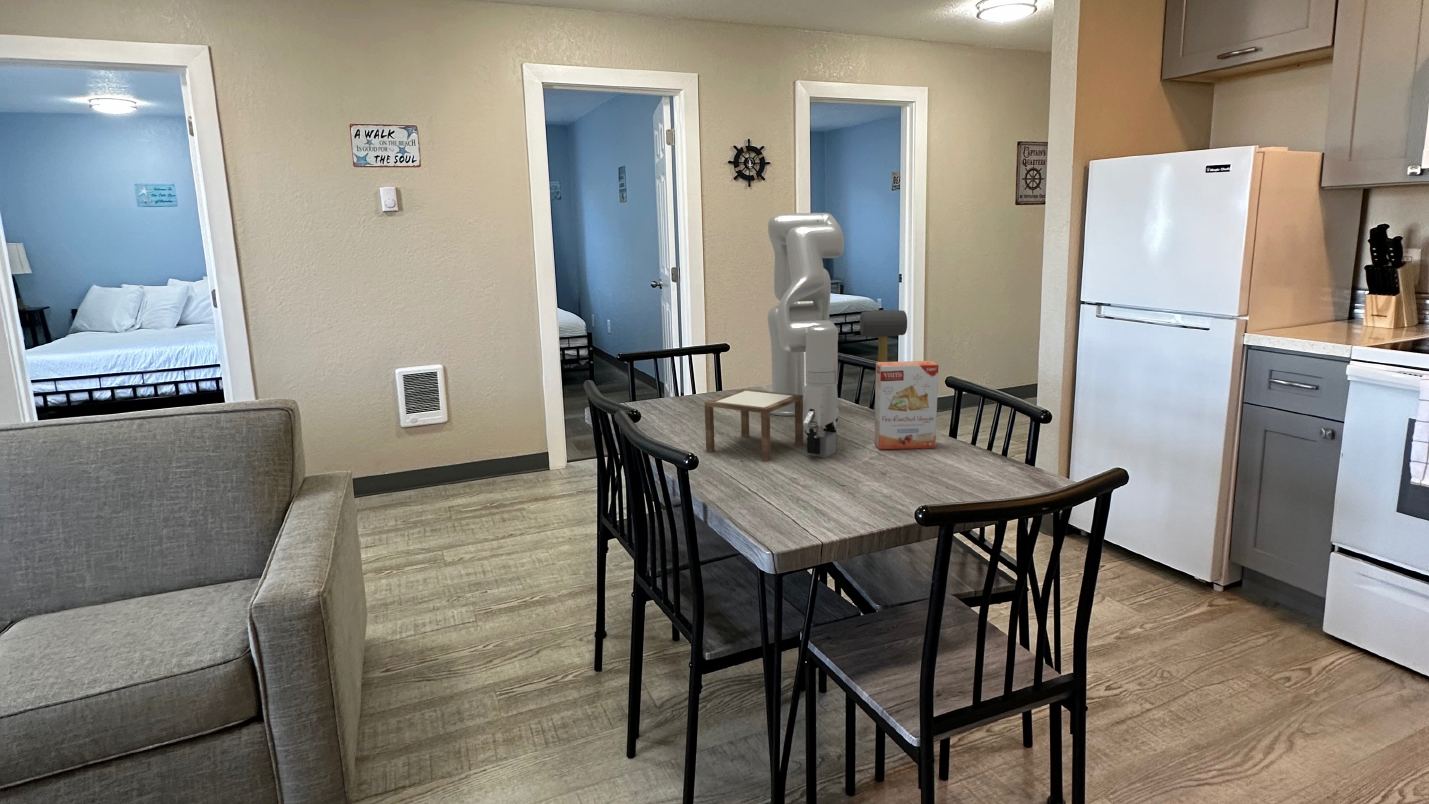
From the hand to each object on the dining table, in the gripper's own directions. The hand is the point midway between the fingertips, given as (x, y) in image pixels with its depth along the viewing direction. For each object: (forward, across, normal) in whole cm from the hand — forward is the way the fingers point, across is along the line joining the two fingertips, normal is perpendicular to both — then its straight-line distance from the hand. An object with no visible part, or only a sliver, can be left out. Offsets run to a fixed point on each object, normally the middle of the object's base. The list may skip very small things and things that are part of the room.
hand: (821, 448), depth 195 cm
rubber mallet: (+1, -43, -3) cm, 43 cm away
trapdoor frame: (+1, +3, -17) cm, 17 cm away
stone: (+1, 0, 0) cm, 1 cm away
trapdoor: (-10, +3, -17) cm, 20 cm away
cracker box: (+1, -15, +15) cm, 21 cm away
